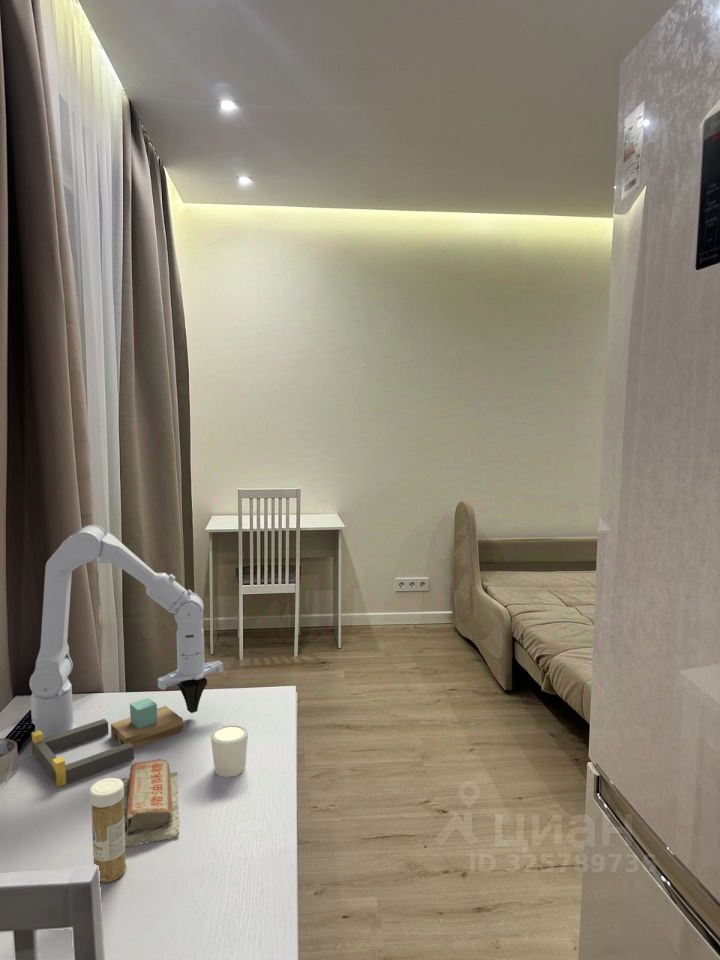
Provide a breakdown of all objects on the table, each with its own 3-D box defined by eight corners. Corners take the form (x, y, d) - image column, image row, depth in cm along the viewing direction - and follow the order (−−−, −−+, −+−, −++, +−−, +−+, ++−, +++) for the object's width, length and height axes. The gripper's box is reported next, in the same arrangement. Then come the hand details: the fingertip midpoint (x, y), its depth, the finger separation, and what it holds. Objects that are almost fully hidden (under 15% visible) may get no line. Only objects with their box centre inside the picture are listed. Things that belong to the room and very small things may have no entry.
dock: (32, 753, 123) (31, 732, 123) (104, 730, 133) (103, 710, 132) (57, 787, 112) (56, 764, 112) (133, 758, 122) (133, 737, 121)
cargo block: (130, 721, 131) (129, 703, 130) (149, 715, 133) (148, 697, 133) (138, 729, 128) (137, 710, 127) (157, 722, 131) (156, 704, 130)
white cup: (231, 754, 123) (230, 720, 123) (256, 766, 119) (255, 731, 119) (203, 770, 118) (202, 735, 117) (228, 783, 114) (228, 746, 113)
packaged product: (119, 761, 113) (176, 752, 116) (120, 786, 113) (177, 777, 116) (111, 823, 96) (179, 811, 99) (112, 853, 96) (179, 840, 99)
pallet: (111, 737, 130) (110, 723, 130) (166, 718, 138) (165, 705, 138) (126, 752, 124) (126, 738, 124) (183, 732, 132) (182, 718, 132)
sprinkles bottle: (87, 874, 91) (83, 786, 90) (117, 857, 95) (113, 772, 93) (103, 889, 88) (99, 799, 87) (133, 871, 92) (129, 784, 90)
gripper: (167, 665, 129) (169, 728, 130) (229, 647, 139) (230, 706, 140) (152, 655, 134) (154, 716, 135) (213, 639, 144) (214, 696, 145)
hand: (192, 710), depth 138 cm, fingers closed
